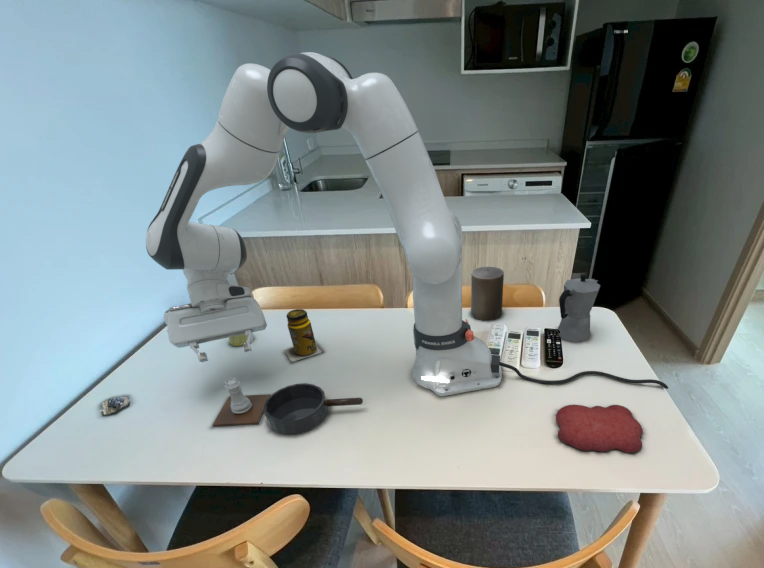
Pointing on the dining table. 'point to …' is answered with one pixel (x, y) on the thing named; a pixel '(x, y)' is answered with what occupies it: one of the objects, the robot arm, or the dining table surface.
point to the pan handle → (343, 401)
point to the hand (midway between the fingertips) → (226, 356)
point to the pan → (296, 409)
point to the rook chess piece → (237, 397)
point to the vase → (238, 340)
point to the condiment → (300, 336)
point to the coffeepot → (577, 308)
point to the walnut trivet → (247, 418)
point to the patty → (599, 428)
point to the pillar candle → (487, 293)
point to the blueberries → (113, 405)
